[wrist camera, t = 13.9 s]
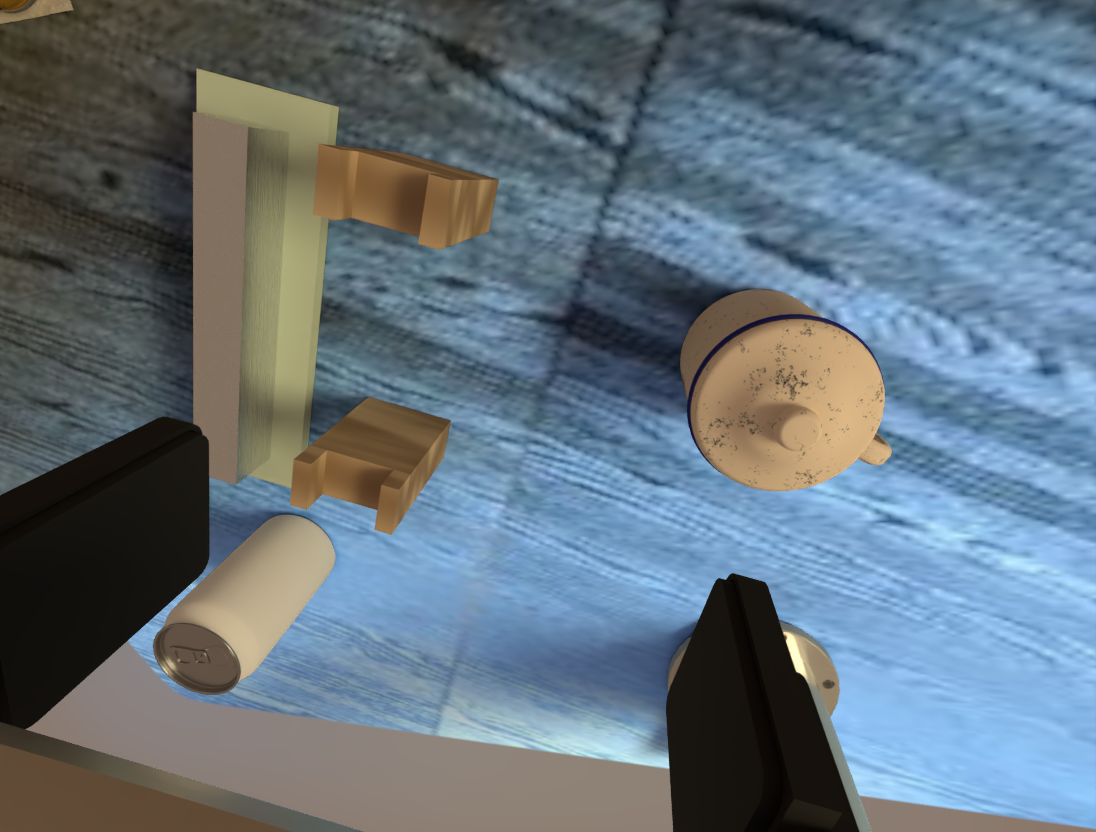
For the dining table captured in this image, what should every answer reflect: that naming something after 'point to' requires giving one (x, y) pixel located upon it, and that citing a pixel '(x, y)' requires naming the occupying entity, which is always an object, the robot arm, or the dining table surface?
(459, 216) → the post
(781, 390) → the teacup with lid
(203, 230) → the rail
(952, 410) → the dining table surface
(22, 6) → the condiment
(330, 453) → the post
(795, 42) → the dining table surface
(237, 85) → the mat
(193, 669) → the can
